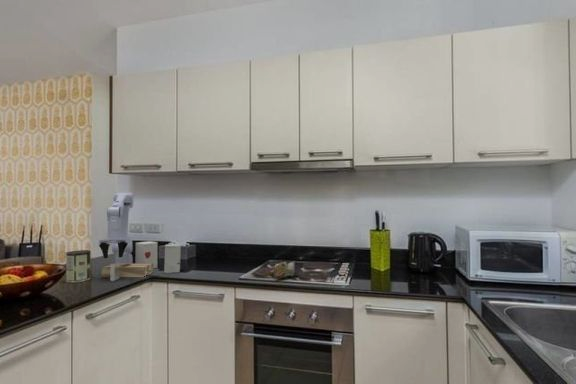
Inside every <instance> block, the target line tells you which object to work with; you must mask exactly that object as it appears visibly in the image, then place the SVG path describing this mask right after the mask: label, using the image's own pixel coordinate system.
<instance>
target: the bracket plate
mask: <svg viewBox="0 0 576 384" xmlns="http://www.w3.org/2000/svg"><path fill="white" fill-rule="evenodd" d="M109 265H110V277H109V279H110V282H115V281H117V280H119V279H120V277H119V263H115V262H114V263H110V264H109Z"/></svg>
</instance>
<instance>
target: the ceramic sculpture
mask: <svg viewBox="0 0 576 384" xmlns="http://www.w3.org/2000/svg"><path fill="white" fill-rule="evenodd" d="M295 266H296V265H295V261H291V262H289V263H288V262H286V261H284V260H281V261H280V263H276V264H275V265H274V267H273V269H272V270H270V271H269V272H265V273H264V274H265V275H267V276H270V277H273V278H274V279H278V280H279V279H284V278H286V277H294V276H295V275H294V274H295V270H296V269H295ZM283 277H284V278H283Z"/></svg>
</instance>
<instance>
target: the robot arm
mask: <svg viewBox="0 0 576 384" xmlns="http://www.w3.org/2000/svg"><path fill="white" fill-rule="evenodd" d="M134 196H135V195H134V193H133V192H114V193H113V197H112V198H113V202H112V204H111V205H110V206H109V207H107V210H106V218H107V238H106V239H98V247H99V248H100V250H101V252H102V256H103V258H104V259H108V257H109V250H110V249H109V247H110V245H111V244H112V246H111V251H112V253H113V254H114V256H115V257H114V258H115V262H114V263H133V255H132V252H133V246H134V245H133V239H132V238H131V237H129V236H128V235H129V234H128V231H129V213H130V209H131V208H133V207H134V199H135V198H134Z"/></svg>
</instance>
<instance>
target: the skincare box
mask: <svg viewBox="0 0 576 384" xmlns="http://www.w3.org/2000/svg"><path fill="white" fill-rule="evenodd" d="M181 247H182V245H181V243H180V244H177V243H176V244H169V243H168V244H165V246H164V266H163V267H164V269H163V273H164V274H170V273H171V274H172V273H180V272H181V271H180V270H181V253H182V252H181V250H182V248H181Z"/></svg>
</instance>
